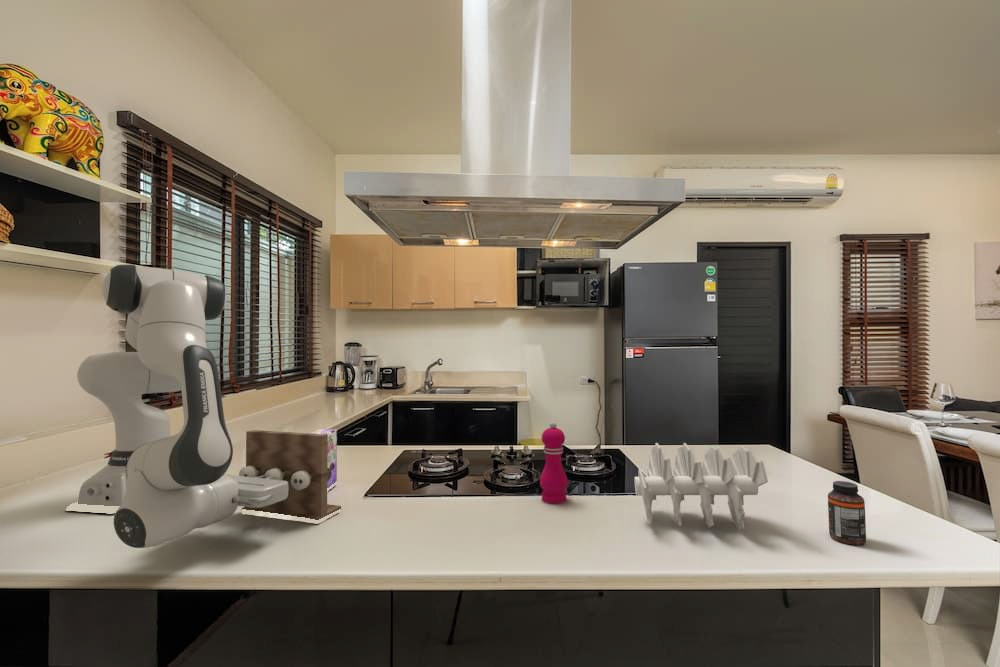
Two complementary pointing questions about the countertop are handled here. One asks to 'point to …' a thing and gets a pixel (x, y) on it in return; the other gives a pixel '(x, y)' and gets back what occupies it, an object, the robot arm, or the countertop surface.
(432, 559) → the countertop surface
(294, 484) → the two dot button
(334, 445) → the candy box
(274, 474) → the plain button
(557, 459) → the pepper mill
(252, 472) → the one dot button
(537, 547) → the countertop surface
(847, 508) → the supplement bottle
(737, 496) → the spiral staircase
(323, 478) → the button panel
